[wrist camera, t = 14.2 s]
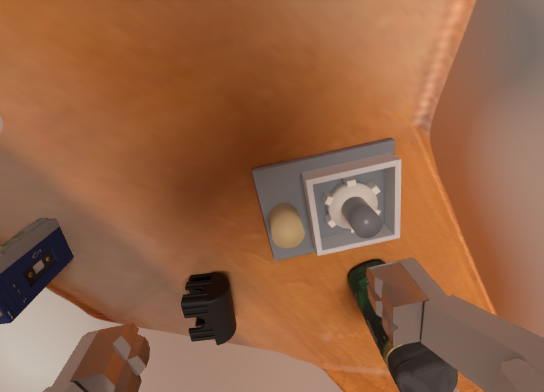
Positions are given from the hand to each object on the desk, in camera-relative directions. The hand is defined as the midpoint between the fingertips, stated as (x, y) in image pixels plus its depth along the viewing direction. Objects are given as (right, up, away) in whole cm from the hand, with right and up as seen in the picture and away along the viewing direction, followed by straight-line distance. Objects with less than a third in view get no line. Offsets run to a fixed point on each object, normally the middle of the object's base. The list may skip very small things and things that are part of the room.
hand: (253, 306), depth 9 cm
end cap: (-10, -13, +37) cm, 40 cm away
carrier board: (+9, +3, +31) cm, 32 cm away
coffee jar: (+19, -12, +39) cm, 44 cm away
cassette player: (-32, -3, +30) cm, 43 cm away
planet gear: (+12, +3, +30) cm, 32 cm away
